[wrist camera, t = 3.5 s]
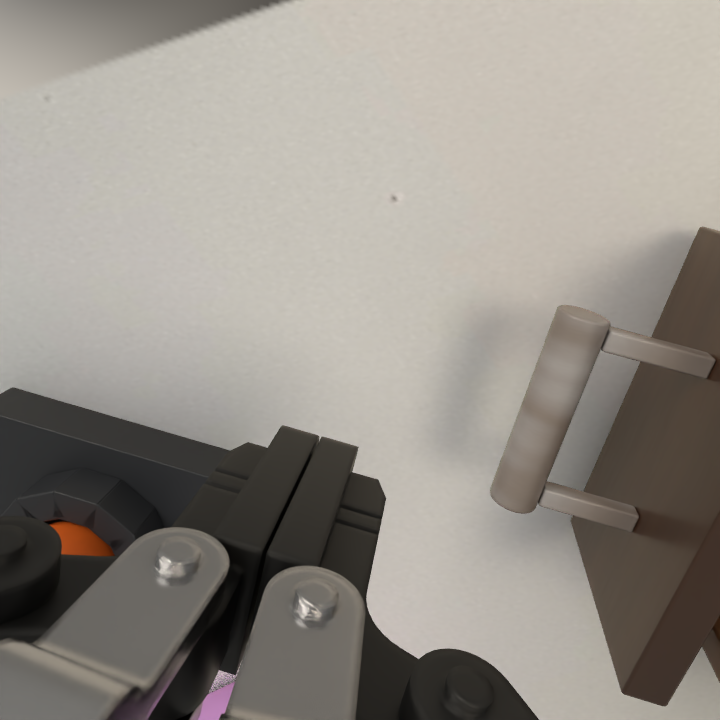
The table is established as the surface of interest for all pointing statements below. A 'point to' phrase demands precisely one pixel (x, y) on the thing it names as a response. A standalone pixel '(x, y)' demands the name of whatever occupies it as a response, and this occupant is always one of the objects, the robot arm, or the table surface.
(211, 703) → the teapot
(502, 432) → the table surface
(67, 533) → the button
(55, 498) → the control box
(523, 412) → the open drawer
